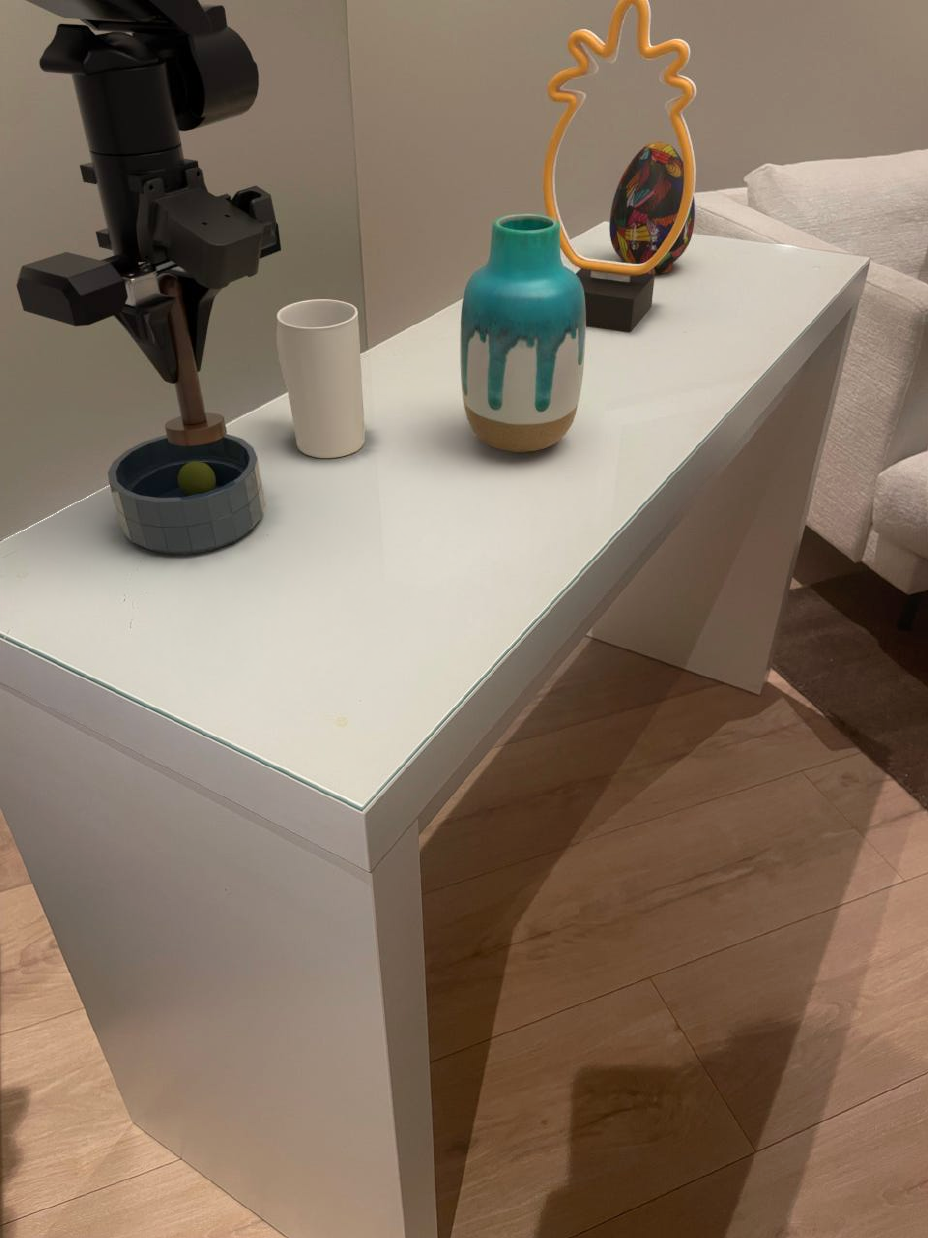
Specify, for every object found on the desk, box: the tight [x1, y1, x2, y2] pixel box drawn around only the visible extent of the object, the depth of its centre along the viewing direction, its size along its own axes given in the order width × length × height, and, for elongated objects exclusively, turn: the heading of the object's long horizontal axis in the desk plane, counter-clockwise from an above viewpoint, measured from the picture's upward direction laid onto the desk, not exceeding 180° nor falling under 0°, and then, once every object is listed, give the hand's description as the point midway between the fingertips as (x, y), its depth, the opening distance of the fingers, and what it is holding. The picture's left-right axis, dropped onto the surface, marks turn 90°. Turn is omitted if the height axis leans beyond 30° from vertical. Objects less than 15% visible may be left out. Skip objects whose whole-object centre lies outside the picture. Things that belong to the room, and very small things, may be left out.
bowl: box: [107, 433, 266, 556], centre depth 75 cm, size 11×11×5 cm
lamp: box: [542, 0, 697, 333], centre depth 102 cm, size 17×9×32 cm, turn 66°
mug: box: [276, 298, 366, 459], centre depth 84 cm, size 10×7×12 cm, turn 43°
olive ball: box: [178, 461, 216, 496], centre depth 77 cm, size 3×3×3 cm
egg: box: [608, 141, 696, 276], centre depth 120 cm, size 11×11×15 cm
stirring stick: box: [157, 273, 228, 446], centre depth 69 cm, size 4×4×12 cm
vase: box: [459, 213, 587, 453], centre depth 81 cm, size 11×11×19 cm
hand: (182, 376), depth 70 cm, fingers closed on stirring stick, 2 cm apart
